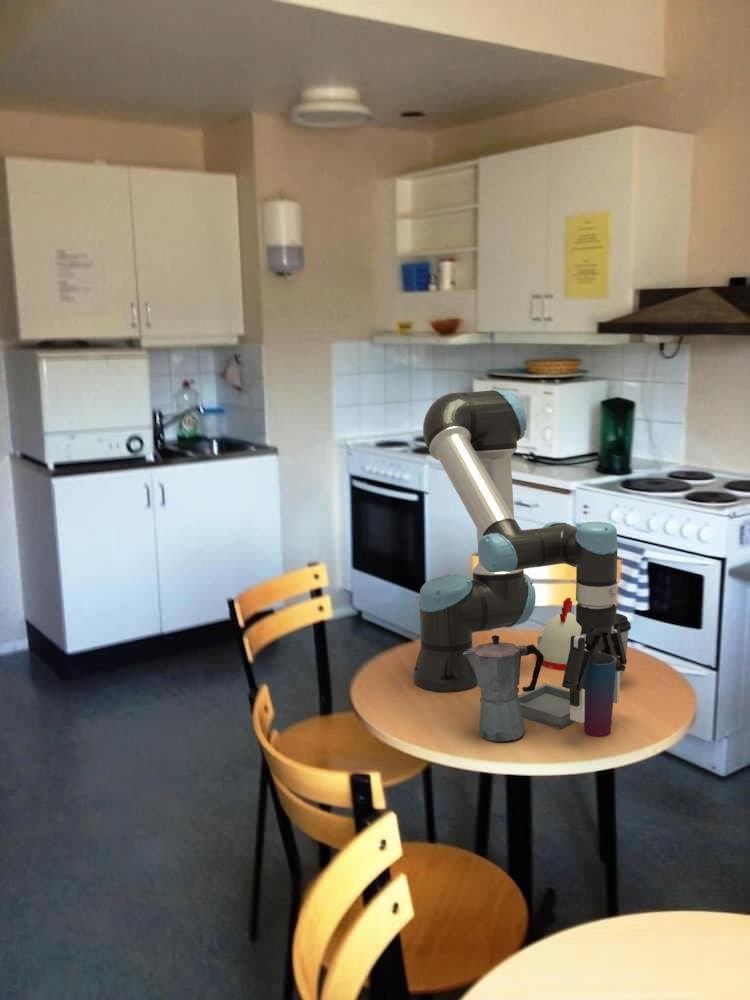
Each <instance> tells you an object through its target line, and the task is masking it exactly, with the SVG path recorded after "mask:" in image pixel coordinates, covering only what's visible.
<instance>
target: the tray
mask: <svg viewBox="0 0 750 1000" xmlns="http://www.w3.org/2000/svg"><path fill="white" fill-rule="evenodd" d="M518 697H519V702H520V706H521V712H522V716H523V718H526V719H528V720H531V721H534V722H538V723H541V724H543V725H546V726H549V727H553V728H555V729H559V730H563V729H565V728H566V727H568V726H570V725H572V724H573V723H575V722H576V721H574V720H571V719H570V689H568V688H564V687H561V686H556V685H553V684H549V683H546V682H545V683H542V684H540V685H538V686H535V689H534V690H533V691H527V692H522V693H521V694H519V695H518Z"/></svg>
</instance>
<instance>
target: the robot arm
mask: <svg viewBox="0 0 750 1000" xmlns="http://www.w3.org/2000/svg"><path fill="white" fill-rule="evenodd" d="M527 422H528V421H527V416H526V411H525V407H524V405H523V404H522V402H521V400H520V399H519V397H518V395H516V394H514V392H511V391H509V390H497V389H491V390H484V391H482V390H480V391H478V390H477V391H466V392H464V391H463V392H452V393H446V394H444V395H442V396H440V397H439V398H438V399H436V400H435V401H434V402H432V403H431V405H430V407H429V408H428V410H427V412H426V414H425V417H424V420H423V424H422V426H423V427H422V430H423V431H422V433H423V441H424V444H425V446H426V448H427V450H428V452H429V453H430V456H431V457H432V458H433V459H434V460H437V461H439V462H440V465H441V466H442V468H443V469H444V471H445V474H446V475H447V477H448V479H449V480H450V482H451V484H452V486H453V488H454V490H455V491H456V494H457V495H458V496H459V498H460V500H461V502H462V504H463V506H464V507H465V510H466V511H467V513H468V515H469V516H470V518H471V520H472V523H473V524H474V526H475V527H476V538H477V539H476V540H477V554H478V563H477V564H476V565H475V567H474V568H473V569H472V579H471V578H470V577H469V576H468V575H464V574H452V575H451V574H446V575H440V576H437V577H433V578H431V579H429V580H427V581H426V582H425V583H424V584H423V585H422V586H421V588H420V591H419V603H418V608H419V625H420V628H419V630H420V649H419V652H418V655H417V659H416V663H415V666H414V669H413V681H414V683H415V685H417V686H418V687H420V688H423V689H425V690H429V691H433V692H434V691H435V692H445V693H448V692H459V691H466V690H469V689H472V688H474V687H476V686H478V683H477V678H476V674H475V672H474V670H473V668H472V666H471V664H470V663H469V661H468V659H467V657H466V656H465V655H463V653H464V652H465V651H467V649H470V648H474V647H473V633H476V632H482V631H488V630H497V629H502V628H511V627H514V626H517V625H522V624H524V623H526V622H527V621H528V620H529V619H530V617H531V616H532V615H533V612H534V611H535V607H536V598H537V597H536V596H537V595H536V588H535V585H533V580H532V578H531V577H530V576H529V575H528V574H527V573H524V570H525V569H531V568H541V567H548V566H549V567H550V566H555V565H562V564H563V565H564V564H565V565H567V566H571V567H574V568H575V570H576V578H575V579H576V582H575V584H576V585H575V590H576V591H575V601H576V602H577V604H575V615H576V621H577V623H578V624H579V625H580V626H581V628H582V629H581V634H580V636H578V637H577V636H571V639H570V651H569V656H568V660H567V665H566V669H565V671H564V673H563V674H564V675H563V678H562V684H561V686H562V687H561V688H564V689H567V690H570V719H571V720H574V721H575V722H577V723H581V724H584V711H585V689H582V686H583V683H584V681H585V678H586V675H587V672H588V670H589V667H590V664H591V661H592V659H593V658H595V657H596V654H597V652H599V651H601V653H606V654H610V655H613V656H614V657H616V659H617V661H616V673H615V686H614V698H613V704H617V705H618V704H619V703H620V686H621V685H620V670H621V671H623V672H625V670H626V664H627V661H628V659H627V653H626V654H625V650H624V646H623V642H622V637H621V633H620V623H619V622H616V613H617V606H616V603H617V595H618V590H617V580H618V579H617V578H618V573H617V572H618V549H619V543H618V533H617V532H618V530H617V527H616V526H615V525H614V524H613V523H609V522H604V521H603V522H602V521H584V522H581V523H579V524H577V526H574V525H571V524H570V523H567V522H560V521H559V522H558V521H551V522H548V523H547V524H545V525H544V526H542V527H540V528H538V527H537V528H532V529H531V528H530V529H522V528H521V527H520V525H519V524H518V522H517V521H516V519H515V512H514V511H515V510H514V509H515V508H514V495H513V494H514V493H513V492H514V491H513V489H514V488H513V474H512V471H513V469H512V455H513V454H514V453H516V451H517V450H518V444H517V443H518V441H520V440H522V439H523V437H524V436H525V434H526V430H527ZM585 649H586V650H587V651H585ZM618 656H620V657H618ZM623 664H624V665H623Z"/></svg>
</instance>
